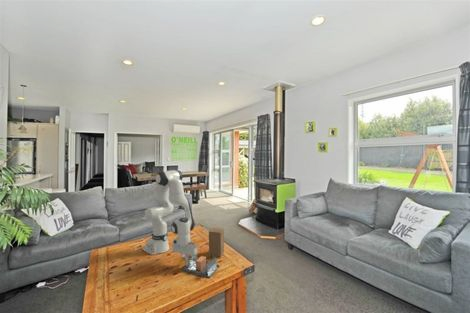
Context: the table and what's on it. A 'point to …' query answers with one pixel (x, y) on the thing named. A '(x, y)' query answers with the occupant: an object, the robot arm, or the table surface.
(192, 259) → the sliding jaw
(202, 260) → the rust block
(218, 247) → the wooden block
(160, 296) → the table surface
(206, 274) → the vise base
